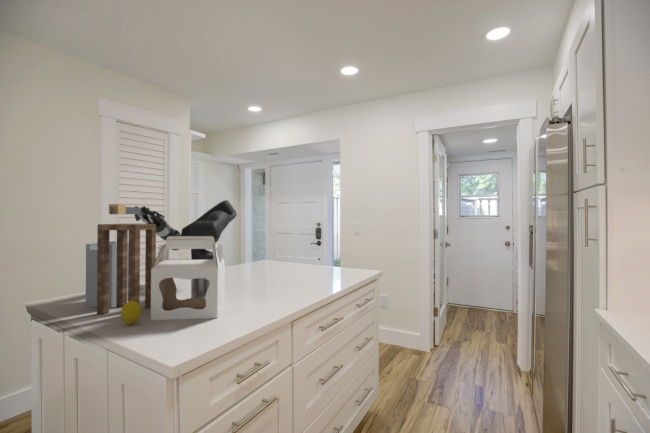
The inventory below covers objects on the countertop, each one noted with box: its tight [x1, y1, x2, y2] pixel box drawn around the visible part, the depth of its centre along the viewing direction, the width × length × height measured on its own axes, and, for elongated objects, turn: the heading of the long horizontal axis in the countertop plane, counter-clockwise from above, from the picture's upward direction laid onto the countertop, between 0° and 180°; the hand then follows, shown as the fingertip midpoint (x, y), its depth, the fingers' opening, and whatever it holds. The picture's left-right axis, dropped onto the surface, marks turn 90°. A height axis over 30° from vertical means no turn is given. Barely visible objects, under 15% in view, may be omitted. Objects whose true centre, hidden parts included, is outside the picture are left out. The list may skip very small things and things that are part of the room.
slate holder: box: [85, 240, 129, 308], centre depth 127 cm, size 10×14×24 cm
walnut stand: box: [96, 223, 157, 316], centre depth 117 cm, size 14×12×32 cm
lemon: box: [120, 300, 142, 326], centre depth 101 cm, size 6×6×8 cm
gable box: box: [150, 236, 226, 321], centre depth 113 cm, size 22×13×28 cm, turn 97°
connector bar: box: [108, 203, 150, 215], centre depth 134 cm, size 4×20×4 cm, turn 175°
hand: (138, 208), depth 139 cm, fingers closed on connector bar, 3 cm apart
